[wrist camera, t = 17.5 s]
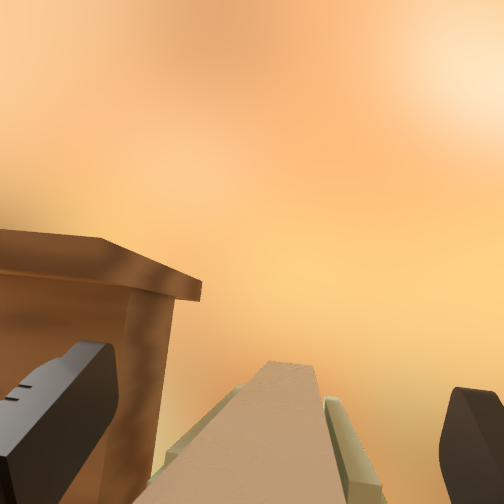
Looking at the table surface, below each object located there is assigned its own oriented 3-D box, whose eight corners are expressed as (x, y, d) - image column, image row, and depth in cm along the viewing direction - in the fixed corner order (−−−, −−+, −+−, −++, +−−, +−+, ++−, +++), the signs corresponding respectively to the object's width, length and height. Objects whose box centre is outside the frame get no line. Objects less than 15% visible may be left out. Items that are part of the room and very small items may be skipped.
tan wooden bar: (343, 898, 4) (362, 572, 5) (67, 820, 5) (110, 525, 5) (309, 412, 28) (312, 366, 28) (264, 406, 28) (268, 360, 29)
